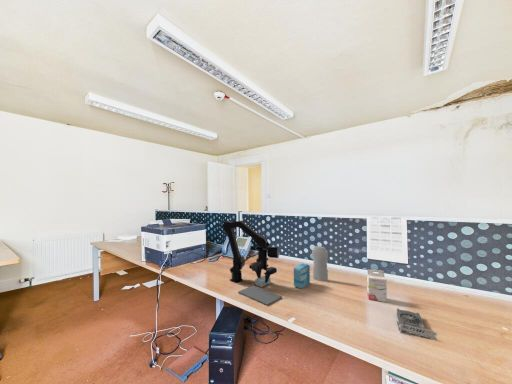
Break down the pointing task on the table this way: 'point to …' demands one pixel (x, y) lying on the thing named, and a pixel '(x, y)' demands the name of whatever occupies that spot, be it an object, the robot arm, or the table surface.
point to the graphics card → (413, 324)
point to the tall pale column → (320, 263)
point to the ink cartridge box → (376, 286)
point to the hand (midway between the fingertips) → (262, 281)
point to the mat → (260, 295)
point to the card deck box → (261, 281)
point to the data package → (301, 275)
